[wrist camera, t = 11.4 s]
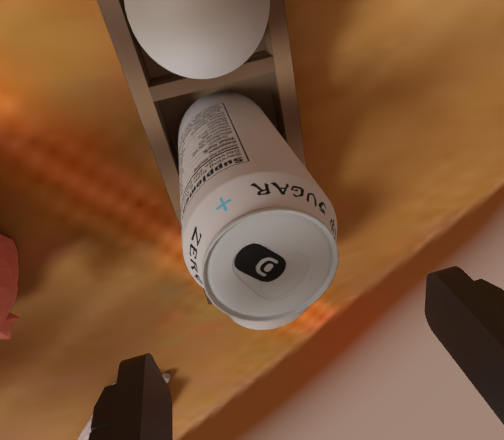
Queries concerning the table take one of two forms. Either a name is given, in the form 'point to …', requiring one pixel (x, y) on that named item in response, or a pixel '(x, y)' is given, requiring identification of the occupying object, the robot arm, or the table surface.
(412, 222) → the table surface
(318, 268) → the energy drink can
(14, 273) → the anatomical model
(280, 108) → the rack
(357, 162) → the table surface
